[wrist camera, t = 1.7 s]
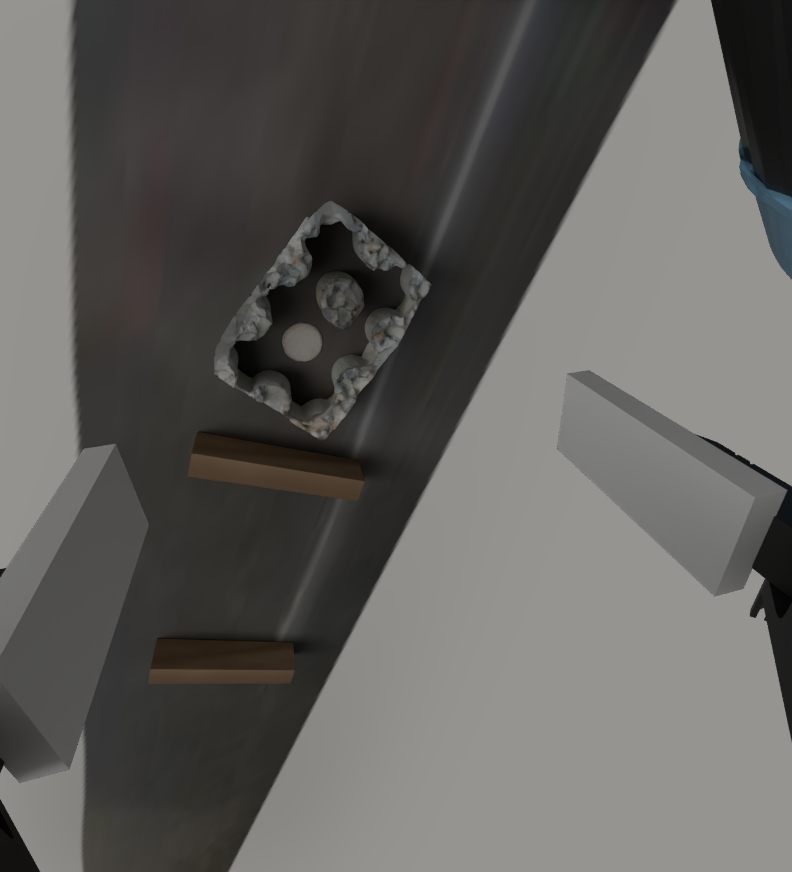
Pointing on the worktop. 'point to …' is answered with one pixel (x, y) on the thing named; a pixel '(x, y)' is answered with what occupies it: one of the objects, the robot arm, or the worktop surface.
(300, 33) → the worktop surface
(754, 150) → the robot arm
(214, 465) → the parallel wooden rails
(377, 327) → the egg carton
